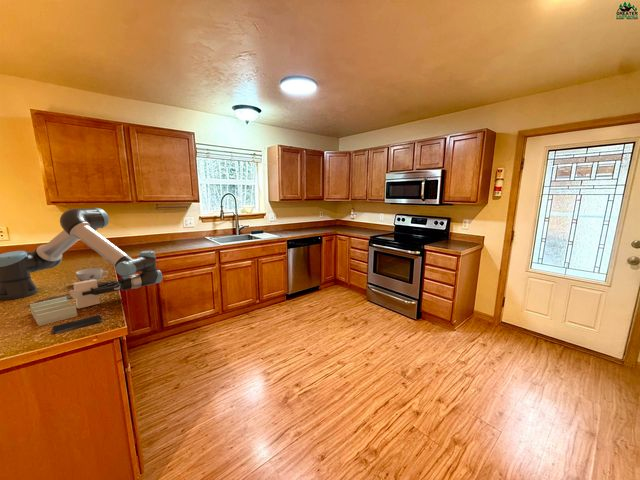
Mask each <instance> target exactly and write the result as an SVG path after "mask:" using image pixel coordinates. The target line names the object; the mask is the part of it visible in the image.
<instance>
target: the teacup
mask: <svg viewBox="0 0 640 480" xmlns="http://www.w3.org/2000/svg"><path fill="white" fill-rule="evenodd" d="M104 273H106V274H105V275H104V276H103V274H104ZM75 275H76V278H77V279H78V280H79V282H82V281H87V280H92V279H95V280H97V282H98V281H100V280H101V279H104V278H106V277H108V275H109V271H108V270H103V268H99V267H94V268H93V267H92V268H85V269H81V270H77V271H76V272H75Z"/></svg>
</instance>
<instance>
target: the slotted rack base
mask: <svg viewBox="0 0 640 480" xmlns="http://www.w3.org/2000/svg"><path fill="white" fill-rule="evenodd" d="M33 303H34V302H33ZM29 305H30V306H29V308H30V313H31V315H32V317H33V318H34V320H35V322H36V323H37V325H38V327H41V326H45V325H49V324H52V323H56V322H57V323H58V322H60V320H61V321H63V320H68V319H71V318H74V317H75V318H77V317H78V311H77V307H76V305H74V304H73V302H71V301H70V299H67V297H62V298H57V299H53V300H48V301H43V302H39V303H34V304H31V303H29Z"/></svg>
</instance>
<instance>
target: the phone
mask: <svg viewBox="0 0 640 480" xmlns="http://www.w3.org/2000/svg"><path fill="white" fill-rule="evenodd" d="M102 322H103V319H102V317H101V315H99V314H97V315H93V316H90V317H89V316H88V317H86V318H81V319H77V320H76V319H75V320H73V321H69V322H64V323H60V324H57V325H56V324H55V325H53V326H52V328H51V329H52V335H57V334H63V333H66V332H69V331H74V330H77V329H81V328H85V327H89V326H92V325H97V324H100V323H102Z"/></svg>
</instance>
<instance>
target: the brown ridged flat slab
mask: <svg viewBox="0 0 640 480" xmlns="http://www.w3.org/2000/svg"><path fill="white" fill-rule="evenodd" d="M62 297H67V300H70V299H73V297H72V296H70V293H66V294H63V295H62V294H61V295H54V296H50V297H47V298H44V299H43V298H42V299H39V300H36V301H34V302H32V303H30V304H34V303H39V302H43V301H48V300H53V299H57V298H62ZM30 304H27V305H25V306H22V307H21V309H24V308H28V307H29V308H30Z"/></svg>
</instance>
